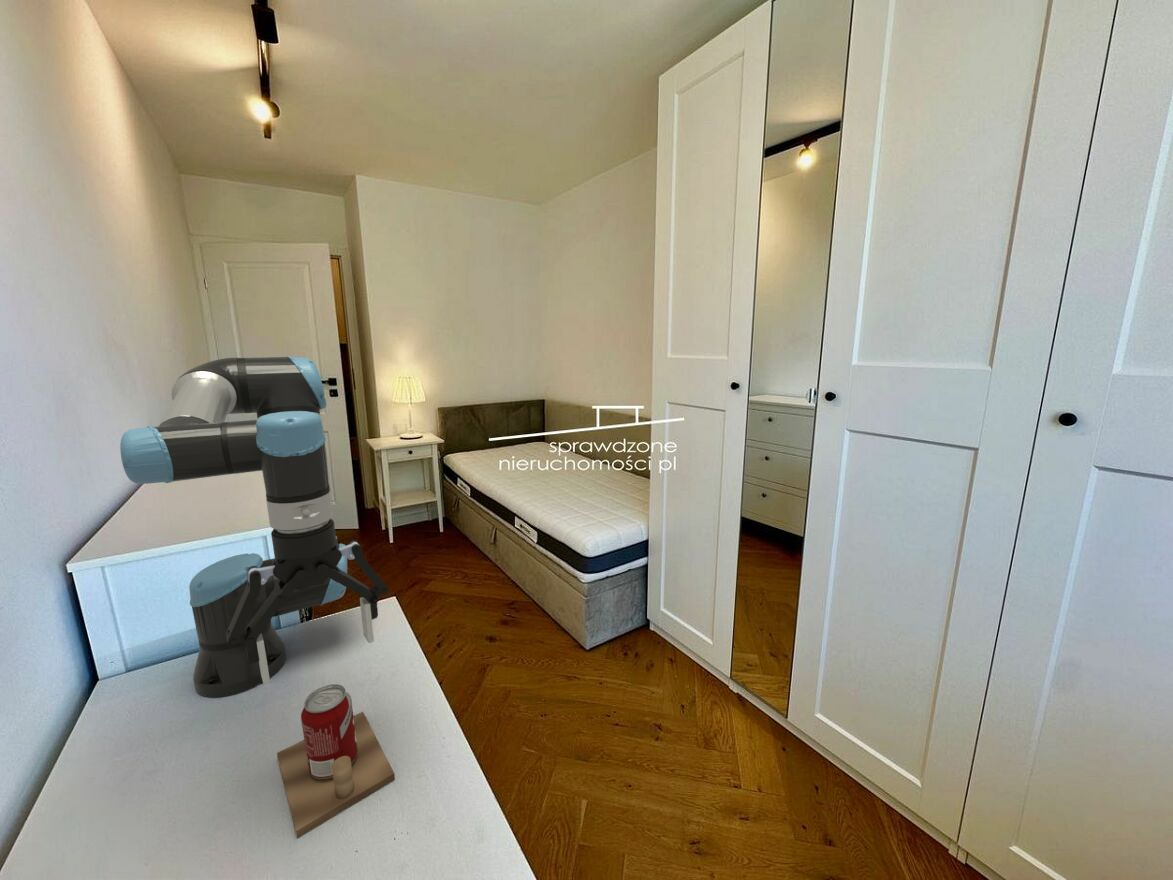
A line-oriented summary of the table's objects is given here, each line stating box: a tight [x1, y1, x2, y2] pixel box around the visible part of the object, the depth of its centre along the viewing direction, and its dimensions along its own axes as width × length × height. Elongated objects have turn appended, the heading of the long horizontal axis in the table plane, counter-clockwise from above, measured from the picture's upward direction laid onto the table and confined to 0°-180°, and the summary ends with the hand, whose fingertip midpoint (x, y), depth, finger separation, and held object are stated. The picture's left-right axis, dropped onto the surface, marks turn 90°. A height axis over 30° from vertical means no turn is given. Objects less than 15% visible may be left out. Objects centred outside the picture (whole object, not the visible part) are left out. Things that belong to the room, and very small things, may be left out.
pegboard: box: [276, 711, 396, 839], centre depth 72 cm, size 16×13×6 cm
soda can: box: [300, 683, 357, 779], centre depth 71 cm, size 7×7×12 cm
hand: (320, 657), depth 68 cm, fingers open, 13 cm apart
